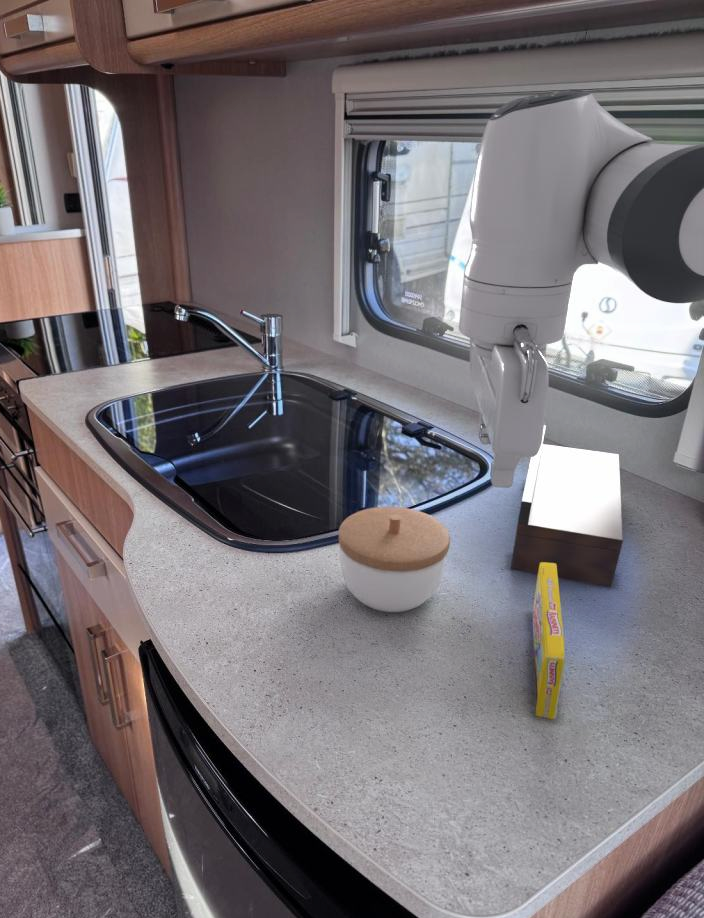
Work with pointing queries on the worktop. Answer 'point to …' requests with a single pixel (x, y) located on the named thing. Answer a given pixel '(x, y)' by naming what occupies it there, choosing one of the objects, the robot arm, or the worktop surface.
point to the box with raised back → (571, 515)
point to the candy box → (547, 641)
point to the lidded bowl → (392, 557)
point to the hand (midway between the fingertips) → (493, 461)
